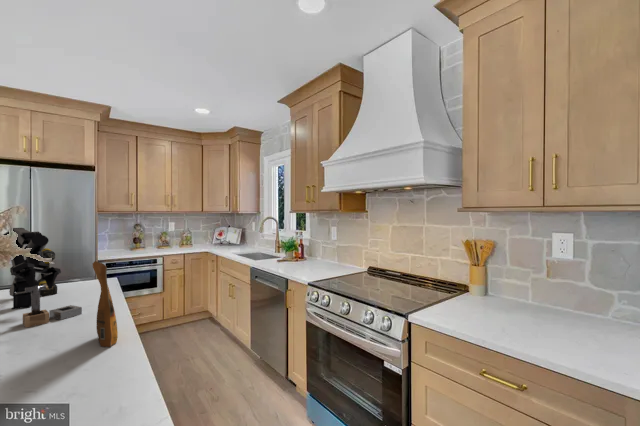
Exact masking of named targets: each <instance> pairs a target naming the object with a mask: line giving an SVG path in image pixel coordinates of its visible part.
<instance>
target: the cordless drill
mask: <svg viewBox="0 0 640 426" xmlns="http://www.w3.org/2000/svg"><path fill="white" fill-rule="evenodd" d="M42 253H43V256H46V258H52V261H51V262H53V261H54V260H55V259H56V253H55V252H54V251H53V250H52V249H50V248H48V247H46V248H44V249H43V250H42ZM51 262H50V263H49V262H45V264H48V267H46V268H45V269H49V268H51V267H50V266H51V265H50V264H51ZM40 277H41V278H40V279H38V280H37V282H38V286H43V285H46V289H45V290H40V297H45V296H46V297H47V296H53V295H57V294H58V286H57V284H56V282H55V281H56V280H55V281H54V284H53V287H52V288H51V289H49V288H48V286H47V283H46V280H45V279H42V278H43V277H42V276H41V275H40Z"/></svg>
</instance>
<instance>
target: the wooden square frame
mask: <svg viewBox="0 0 640 426" xmlns="http://www.w3.org/2000/svg"><path fill="white" fill-rule="evenodd" d="M49 323H50V317H49V311H48V310H47V309H40V314H37V315H32V316H31V312H25V313H22V325H23V326H24V328H31V327H35V326H40V325H41V326H42V325H43V324H49Z"/></svg>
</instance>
